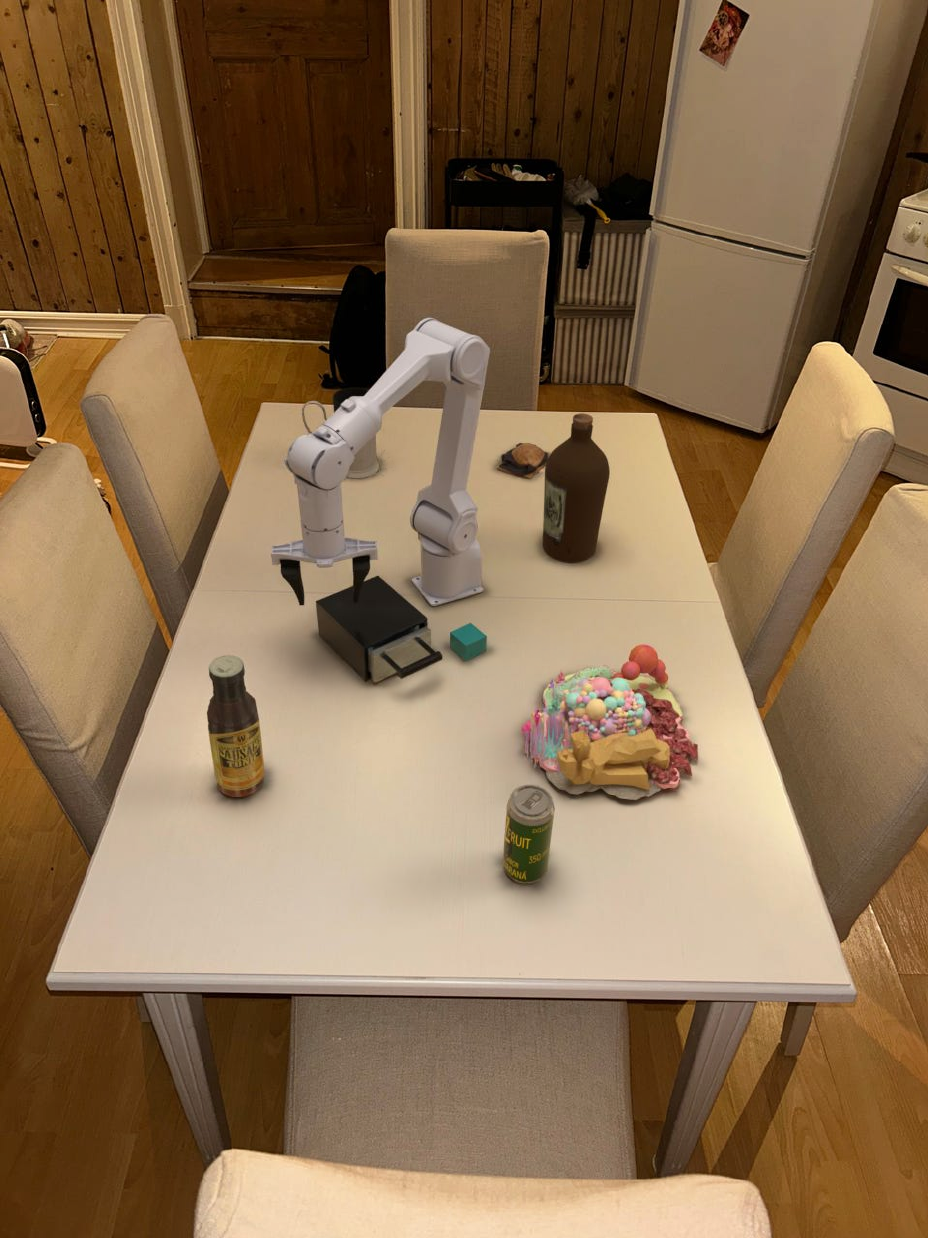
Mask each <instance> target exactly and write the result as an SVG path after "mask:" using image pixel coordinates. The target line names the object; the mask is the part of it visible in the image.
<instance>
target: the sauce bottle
mask: <svg viewBox="0 0 928 1238" xmlns="http://www.w3.org/2000/svg"><path fill="white" fill-rule="evenodd" d="M245 674H246V670H245V664H244V661H243V660H242V659H241V658H240V657H238V656H235V655H232V654H231V655H229V654H227V655H221V656H218V657H216V658H214V659H213V660H212V661H211V662H210V664H209V666H208V677H209V678H210V680H211V683H212V694H213V695H212V696H211V698H210V699H209V703H208V705H207V710H206V718H207V731H208V737H209V746H210V753H211V759H212V765H213V772H214V777H215V781H216V783H217V784H216V785H217V788H218V790H219V791H220V792H221V793H222V794H223V795H225V796H228V797H232V798H244V797H248V796H250V795H251V794H253V793H255V792H256V791H258V790H259V789H260V788H261V787H262V785H263V782H264V777H265V763H264V754H263V741H262V733H261V726H260V725H261V724H260V718H259V711H258V705H257V701H256V698H255V697H254V696H253V695H251V693H250V692H248V691H247V687H246V685H245Z"/></svg>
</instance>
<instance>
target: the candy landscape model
mask: <svg viewBox="0 0 928 1238" xmlns="http://www.w3.org/2000/svg"><path fill="white" fill-rule="evenodd" d="M666 669H667V666H666V663H665V661H663V660H662V659H660V658H659V655H658V652H657V651H656V650H655V648H654V647H653V646H651V645H649V644H638V645H636V646H635V647H634V648H632V649H631V650H630V653H629V656H628V661H626V662H624V663H623V664H622V666H621V668H620V672H616V671H615V670H614V669H612V668H611V666H610V665H608V664H607V665H605V664H604V665H598V666H589V667H585V668H582V670H579V671H578V672H575V673H574V672H573V673H569V674H568V675H564V672H563V670H562V669H560V671H559V674H558V675H557V678H558V679H556V680H555V681H554V680H553V678H551V681H550V682H549V684H548V685H547V686H546V688H545V689H544V690H543V695H542V703H543V704H544V708H543V709H542V712H540V708H538V709H536V710H534V712H532V713H531V716H530V720H527V721H526V722H525V724H523V725H522V726H521V732H522V733H523V743H525V744H524V745H525V748H524V754H526V759H528V758H529V752H530V763H532V764H533V759H534V767H533V768H534V769H536V768H537V765H538V764H539V767H540V768H542V769H543V770H544V771H545V774H546V778H547V779H548V780H549V781H550V783H552V784H553V785H554V786H555V788H557V789H558V790H560V791H561V790H562V791H565V792H567V793H568V794H570V795H581V794H583V793H584V792H589V793H593V792H595V791H597V790H600V789H601V790H603V791H604V792H605V793H606V794H608V795H612V796H616V798H619V799H624V800H633V801H637V800H639V799H641V798H642V797H651V796H652V795H655V794H657V793H659V792H660V791H661V790H663V789H664V790H666V789H668V788H671V789H675V788H678V786H679V784H680V783H681V779H680V773H681V774H684V775H688V776H692V777H693V772H692V766H691V762H690V761H689V759H690V758H691V759H693V760H696V761H698V759H699V747H698V745H699V744H697V743H694V742H692V741H691V739H690V731H689V730H687V729H686V728H684V727H683V726H682V725H681V720H682V719H683V715H684V713H683V712H682V710H681V707H680V706H681V705H680V703H679V702H678V701H676V698H675V696H674V695H673V691H671V689H669V688H668V686H669V684H668V681H669V674H668V673H667V672H666ZM640 674H647V675H648V676H649V677H647V676H641V675H640ZM650 677H652V678H654V679H651V678H650Z"/></svg>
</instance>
